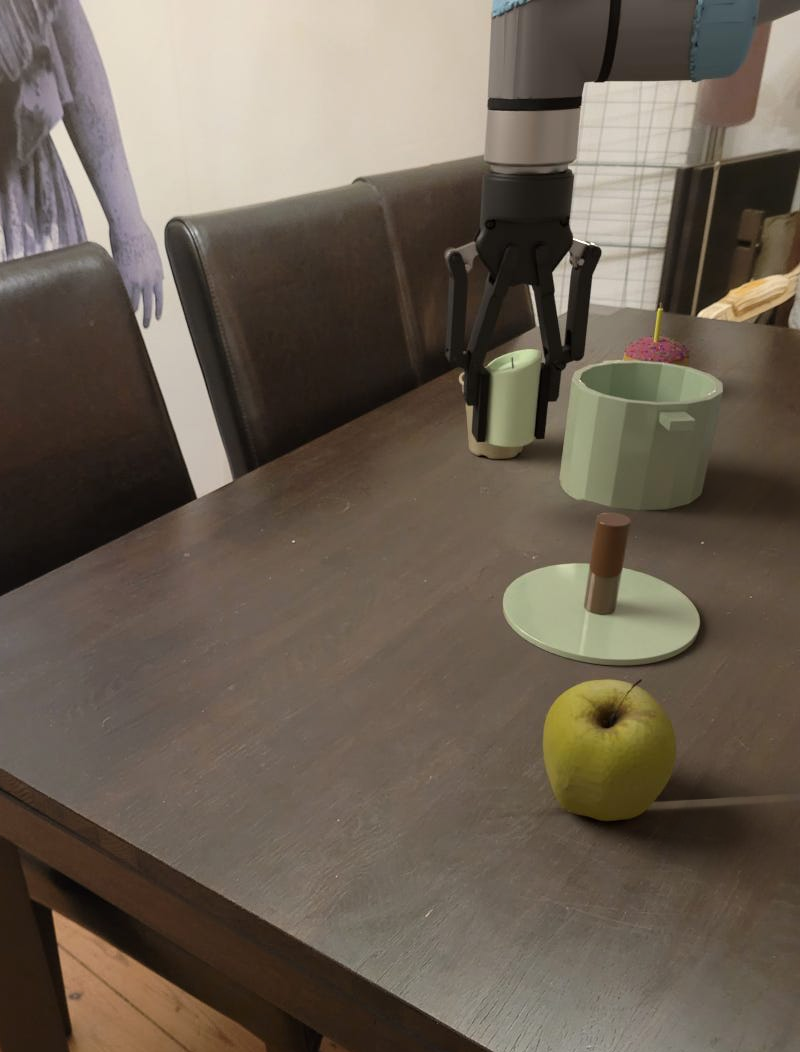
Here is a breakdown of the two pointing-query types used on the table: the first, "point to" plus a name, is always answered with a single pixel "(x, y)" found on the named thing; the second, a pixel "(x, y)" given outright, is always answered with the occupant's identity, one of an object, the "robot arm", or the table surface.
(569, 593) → the pot lid
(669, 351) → the cupcake
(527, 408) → the candle
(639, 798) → the apple
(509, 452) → the flower pot
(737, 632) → the table surface
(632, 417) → the pot
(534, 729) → the table surface
